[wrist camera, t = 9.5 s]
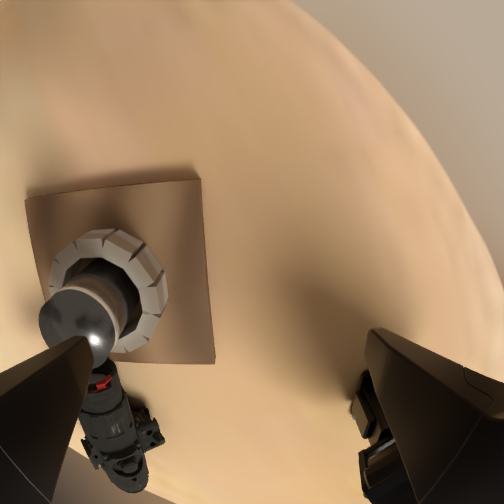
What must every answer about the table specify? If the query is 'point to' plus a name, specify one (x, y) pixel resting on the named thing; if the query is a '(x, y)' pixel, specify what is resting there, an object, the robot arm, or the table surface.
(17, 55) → the table surface
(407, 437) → the robot arm
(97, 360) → the lens
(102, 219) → the mount plate
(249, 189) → the table surface
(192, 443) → the table surface
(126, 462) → the night vision scope
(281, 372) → the table surface
